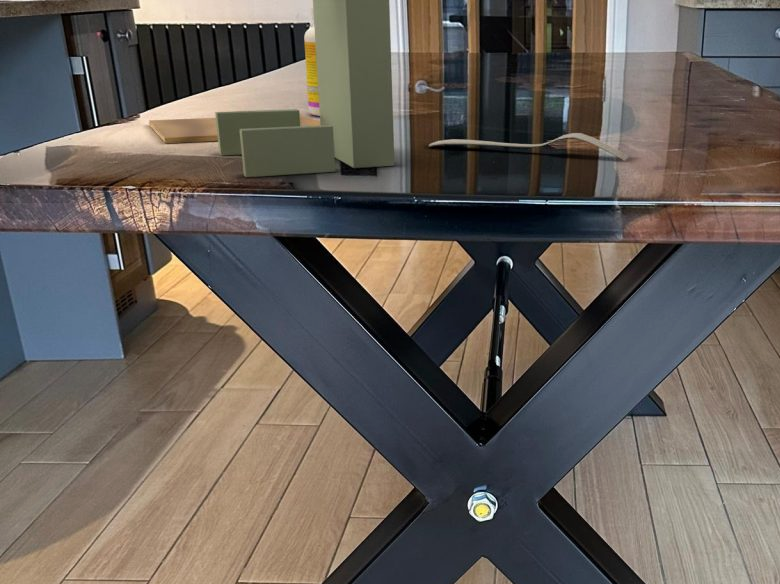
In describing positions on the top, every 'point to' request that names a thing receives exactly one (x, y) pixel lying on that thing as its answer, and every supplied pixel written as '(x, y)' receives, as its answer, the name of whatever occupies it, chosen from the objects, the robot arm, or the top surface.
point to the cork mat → (197, 129)
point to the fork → (572, 135)
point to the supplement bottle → (311, 69)
